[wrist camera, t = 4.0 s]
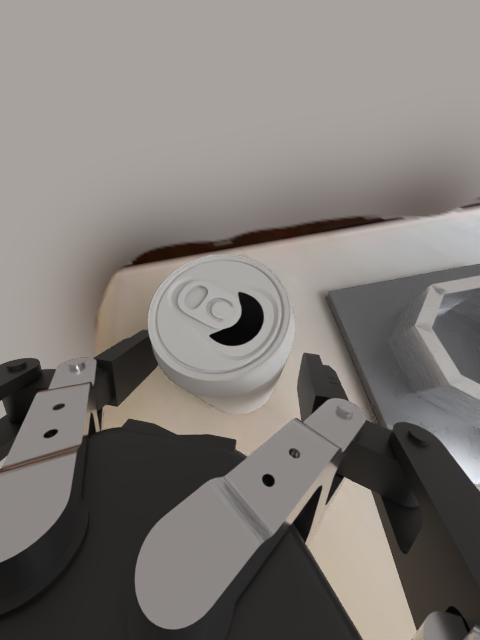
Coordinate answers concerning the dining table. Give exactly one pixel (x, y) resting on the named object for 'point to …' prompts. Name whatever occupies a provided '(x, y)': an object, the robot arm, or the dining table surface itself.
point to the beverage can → (223, 330)
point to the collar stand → (420, 354)
